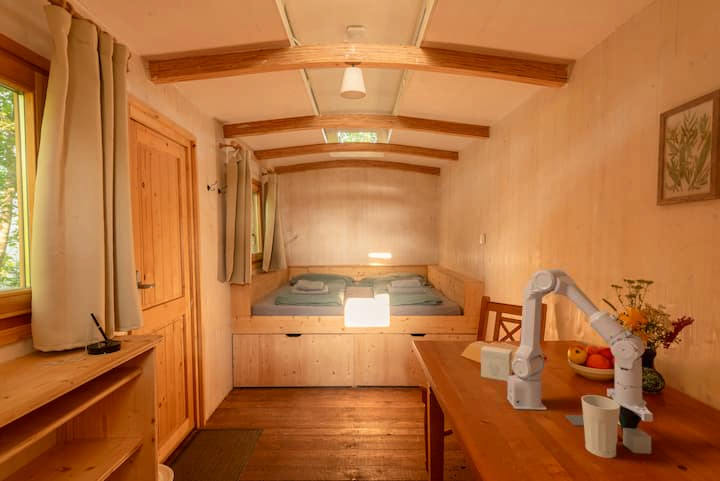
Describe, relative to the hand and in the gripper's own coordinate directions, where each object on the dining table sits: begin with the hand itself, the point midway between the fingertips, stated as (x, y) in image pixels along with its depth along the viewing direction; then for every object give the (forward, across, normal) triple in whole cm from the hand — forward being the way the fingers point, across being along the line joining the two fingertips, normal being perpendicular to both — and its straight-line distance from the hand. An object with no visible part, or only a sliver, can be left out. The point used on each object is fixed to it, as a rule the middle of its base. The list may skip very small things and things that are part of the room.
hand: (628, 435), depth 93 cm
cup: (+2, -5, +10) cm, 11 cm away
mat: (+1, +10, +7) cm, 12 cm away
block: (+1, -3, 0) cm, 4 cm away
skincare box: (+2, +43, +20) cm, 47 cm away
